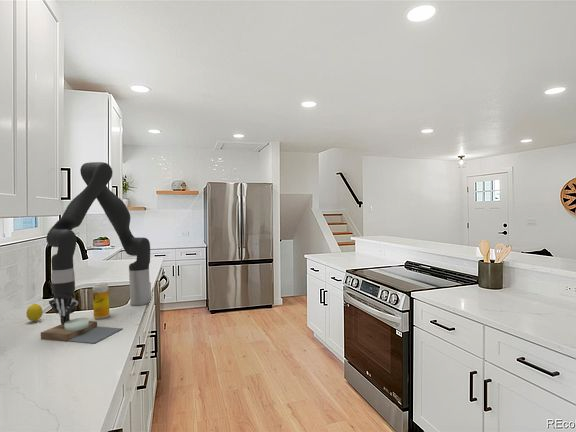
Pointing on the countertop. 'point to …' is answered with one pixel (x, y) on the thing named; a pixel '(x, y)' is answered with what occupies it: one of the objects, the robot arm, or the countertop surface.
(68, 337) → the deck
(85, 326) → the pale green rounded disc
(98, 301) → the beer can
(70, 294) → the robot arm
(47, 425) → the countertop surface
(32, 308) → the lemon
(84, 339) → the mat
